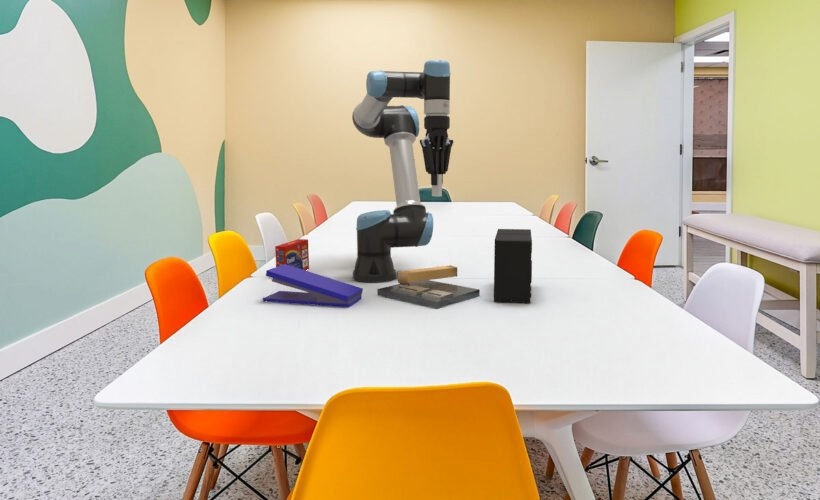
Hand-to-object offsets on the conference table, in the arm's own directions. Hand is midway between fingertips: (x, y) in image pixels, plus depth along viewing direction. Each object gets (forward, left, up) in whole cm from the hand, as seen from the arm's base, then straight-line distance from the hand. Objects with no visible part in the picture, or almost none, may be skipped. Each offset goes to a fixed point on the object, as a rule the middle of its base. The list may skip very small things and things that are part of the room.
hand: (436, 196), depth 175 cm
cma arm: (-7, +4, -27) cm, 28 cm away
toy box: (-60, -10, -31) cm, 68 cm away
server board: (-1, -3, -30) cm, 30 cm away
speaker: (+17, +17, -31) cm, 39 cm away
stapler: (-23, -30, -31) cm, 49 cm away
